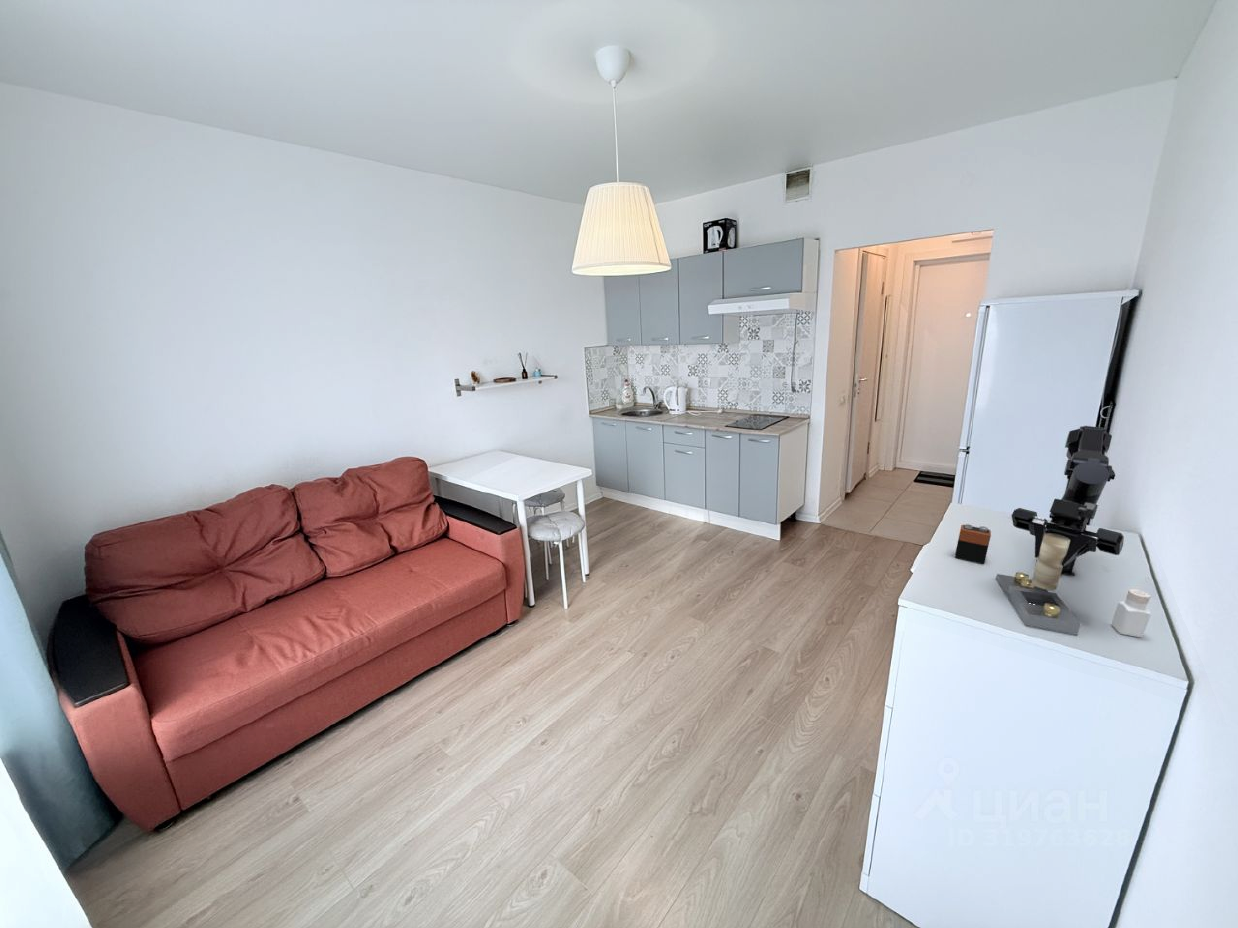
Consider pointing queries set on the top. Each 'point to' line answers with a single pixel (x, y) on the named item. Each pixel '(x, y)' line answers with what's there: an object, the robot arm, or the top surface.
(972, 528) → the battery
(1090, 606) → the top surface
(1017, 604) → the mounting plate
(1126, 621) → the salt shaker
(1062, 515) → the robot arm
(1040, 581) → the pin
